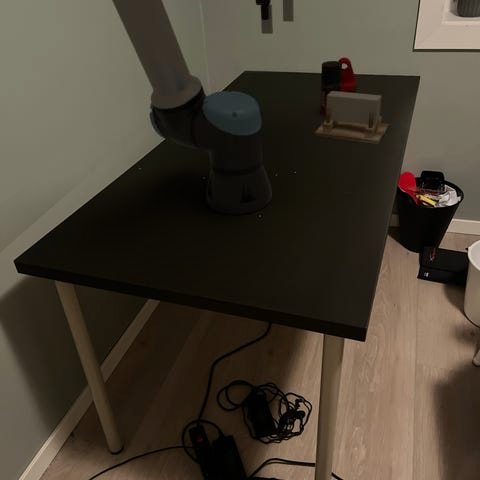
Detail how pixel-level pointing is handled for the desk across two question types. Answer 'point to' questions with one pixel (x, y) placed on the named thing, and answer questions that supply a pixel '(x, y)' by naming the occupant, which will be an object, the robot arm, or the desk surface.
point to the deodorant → (330, 81)
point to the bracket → (347, 76)
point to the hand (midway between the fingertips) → (278, 27)
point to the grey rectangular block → (353, 107)
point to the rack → (352, 130)
